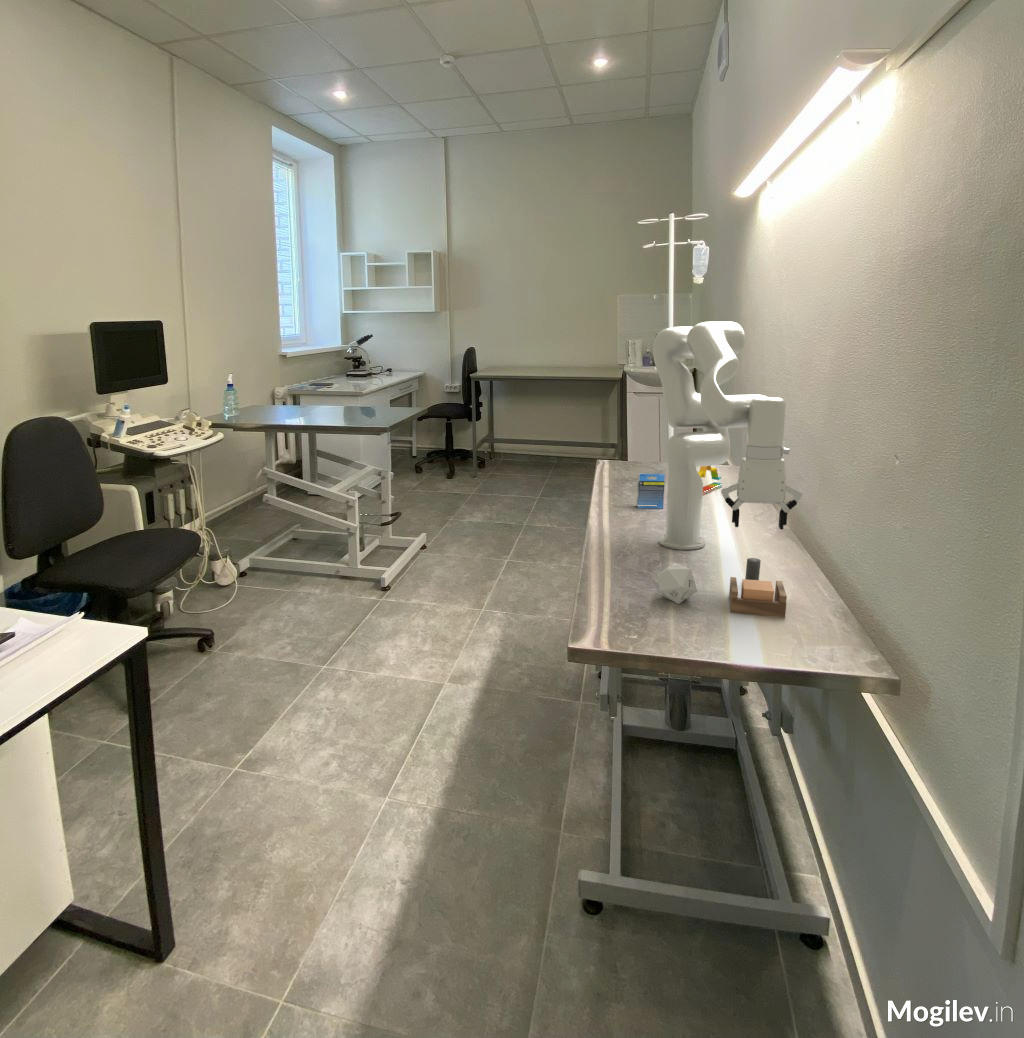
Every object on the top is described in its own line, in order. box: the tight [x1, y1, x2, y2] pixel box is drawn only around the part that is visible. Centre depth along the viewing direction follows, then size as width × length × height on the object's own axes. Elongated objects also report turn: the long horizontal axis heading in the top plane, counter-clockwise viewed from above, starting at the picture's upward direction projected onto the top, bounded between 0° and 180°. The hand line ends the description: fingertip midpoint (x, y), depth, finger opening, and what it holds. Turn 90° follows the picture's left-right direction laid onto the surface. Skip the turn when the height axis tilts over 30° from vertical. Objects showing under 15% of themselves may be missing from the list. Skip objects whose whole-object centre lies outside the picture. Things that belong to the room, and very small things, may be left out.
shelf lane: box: [728, 576, 788, 618], centre depth 142 cm, size 10×11×4 cm
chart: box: [697, 466, 723, 497], centre depth 243 cm, size 30×3×15 cm, turn 140°
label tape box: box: [636, 473, 666, 509], centre depth 225 cm, size 9×4×12 cm, turn 84°
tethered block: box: [740, 557, 775, 601], centre depth 147 cm, size 18×6×6 cm, turn 164°
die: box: [656, 562, 698, 605], centre depth 146 cm, size 8×9×10 cm
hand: (758, 526), depth 151 cm, fingers open, 9 cm apart
